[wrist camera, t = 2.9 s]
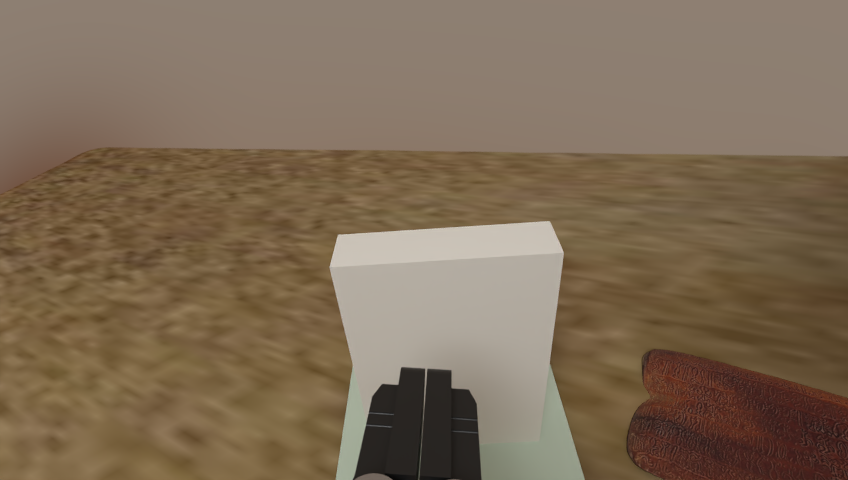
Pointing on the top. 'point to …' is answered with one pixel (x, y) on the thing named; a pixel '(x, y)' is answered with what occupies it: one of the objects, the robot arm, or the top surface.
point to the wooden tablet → (734, 424)
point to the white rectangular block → (456, 314)
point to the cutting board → (488, 445)
